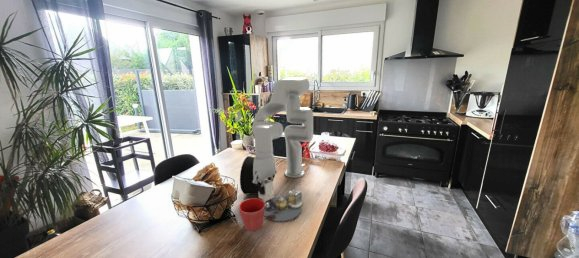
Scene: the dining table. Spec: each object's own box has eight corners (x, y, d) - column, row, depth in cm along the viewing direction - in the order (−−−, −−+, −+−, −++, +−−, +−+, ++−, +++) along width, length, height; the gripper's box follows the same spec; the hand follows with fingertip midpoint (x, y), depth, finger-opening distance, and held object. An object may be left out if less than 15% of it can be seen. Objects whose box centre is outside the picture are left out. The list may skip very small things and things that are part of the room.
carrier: (280, 194, 121) (279, 180, 119) (309, 207, 109) (309, 191, 107) (253, 211, 107) (251, 195, 105) (283, 228, 95) (283, 210, 93)
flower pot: (255, 237, 90) (253, 215, 88) (235, 227, 96) (233, 207, 94) (271, 222, 99) (270, 202, 97) (251, 214, 105) (250, 195, 102)
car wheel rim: (260, 203, 113) (258, 166, 108) (241, 201, 115) (238, 164, 110) (271, 184, 132) (269, 151, 127) (255, 182, 134) (252, 150, 129)
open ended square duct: (266, 190, 108) (265, 176, 107) (276, 194, 104) (276, 180, 103) (255, 196, 103) (254, 182, 102) (266, 201, 99) (265, 186, 97)
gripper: (271, 146, 108) (272, 182, 112) (243, 157, 95) (246, 196, 99) (283, 150, 103) (284, 186, 107) (255, 161, 90) (258, 202, 95)
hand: (266, 191), depth 103 cm, fingers closed on open ended square duct, 4 cm apart
